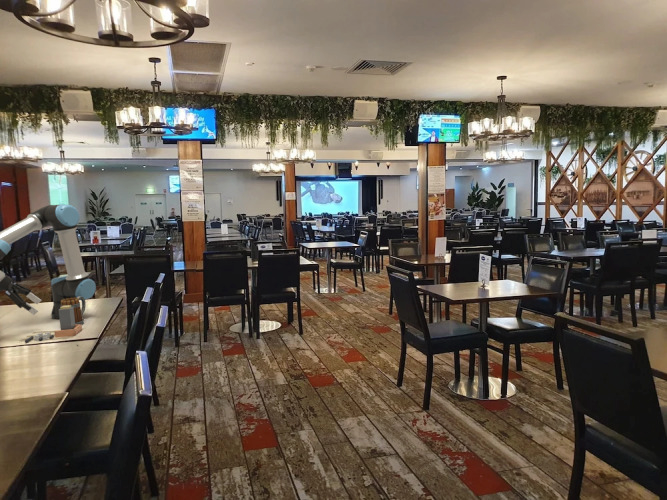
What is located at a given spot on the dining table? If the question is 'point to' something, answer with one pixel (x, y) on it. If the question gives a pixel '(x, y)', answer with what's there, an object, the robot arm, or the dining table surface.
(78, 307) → the mug
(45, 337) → the cable clips
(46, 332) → the board
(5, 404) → the dining table surface
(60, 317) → the grey tall block
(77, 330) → the end holder
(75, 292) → the robot arm
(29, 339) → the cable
